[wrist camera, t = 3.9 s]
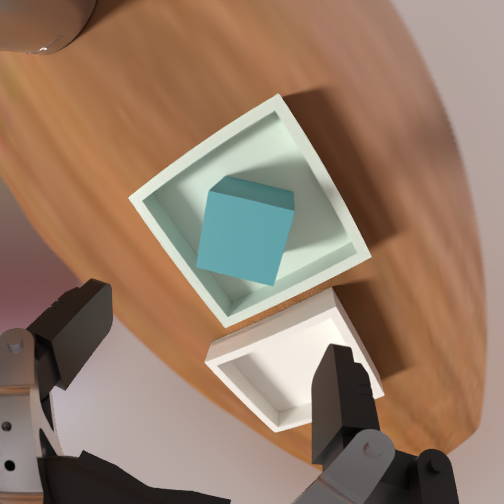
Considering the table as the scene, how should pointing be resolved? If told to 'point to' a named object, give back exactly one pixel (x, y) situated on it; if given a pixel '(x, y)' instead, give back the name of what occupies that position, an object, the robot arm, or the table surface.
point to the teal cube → (245, 229)
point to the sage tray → (264, 172)
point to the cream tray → (286, 358)
